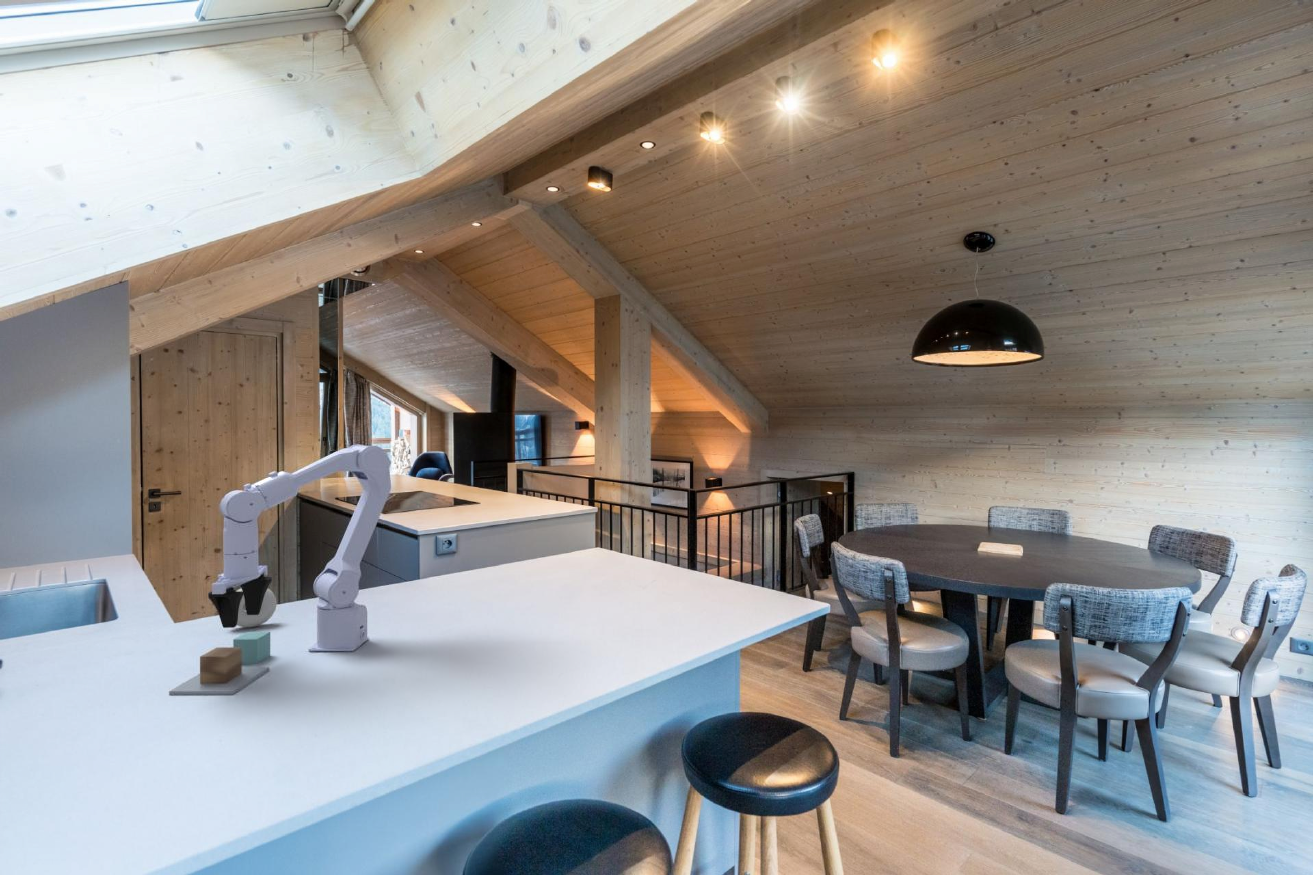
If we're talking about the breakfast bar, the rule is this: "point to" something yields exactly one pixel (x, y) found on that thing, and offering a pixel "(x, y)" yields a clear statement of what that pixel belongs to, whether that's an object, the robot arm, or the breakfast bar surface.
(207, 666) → the walnut brick
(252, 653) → the teal brick
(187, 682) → the baseplate
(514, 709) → the breakfast bar surface
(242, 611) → the donut
